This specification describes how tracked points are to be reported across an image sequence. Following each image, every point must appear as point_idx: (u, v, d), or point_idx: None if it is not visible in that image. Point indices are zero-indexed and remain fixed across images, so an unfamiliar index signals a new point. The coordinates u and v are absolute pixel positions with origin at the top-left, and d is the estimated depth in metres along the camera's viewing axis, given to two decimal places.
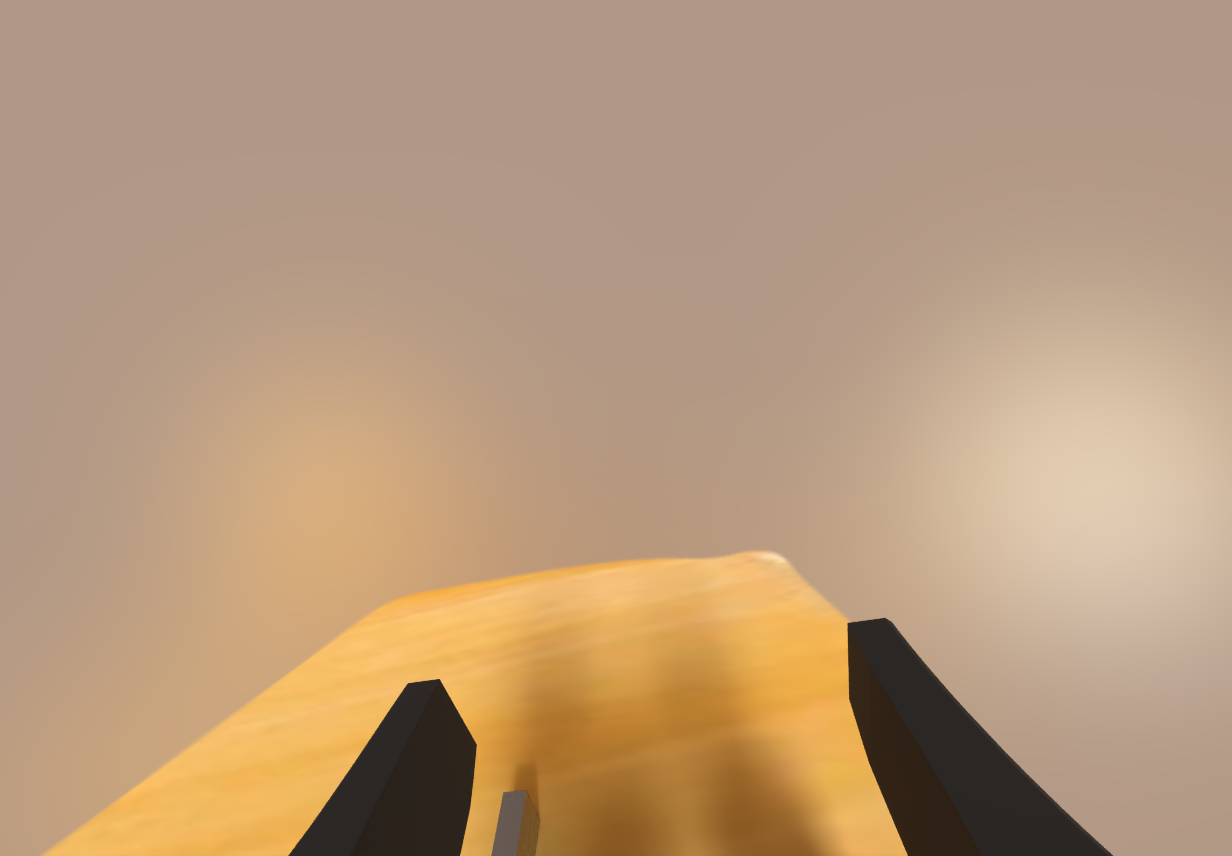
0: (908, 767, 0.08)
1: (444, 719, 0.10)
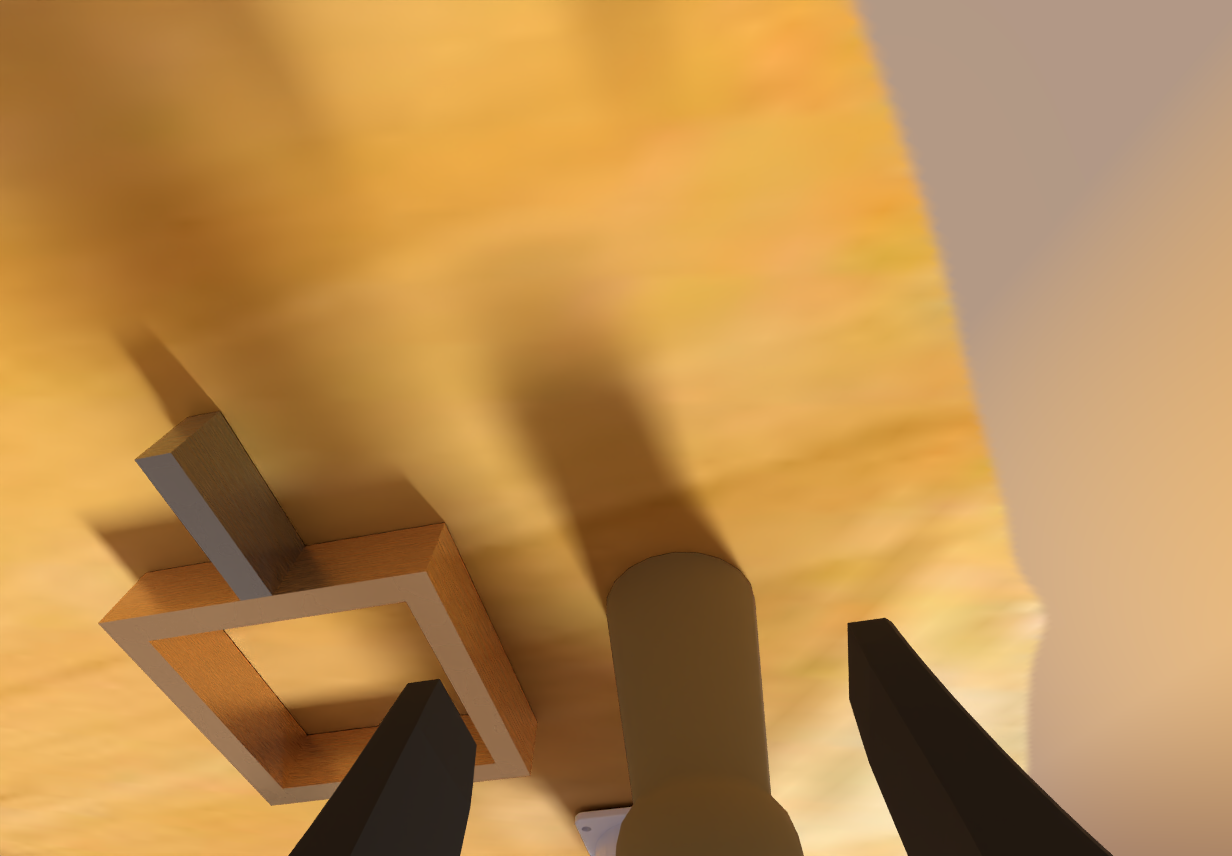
0: (908, 767, 0.08)
1: (444, 719, 0.10)
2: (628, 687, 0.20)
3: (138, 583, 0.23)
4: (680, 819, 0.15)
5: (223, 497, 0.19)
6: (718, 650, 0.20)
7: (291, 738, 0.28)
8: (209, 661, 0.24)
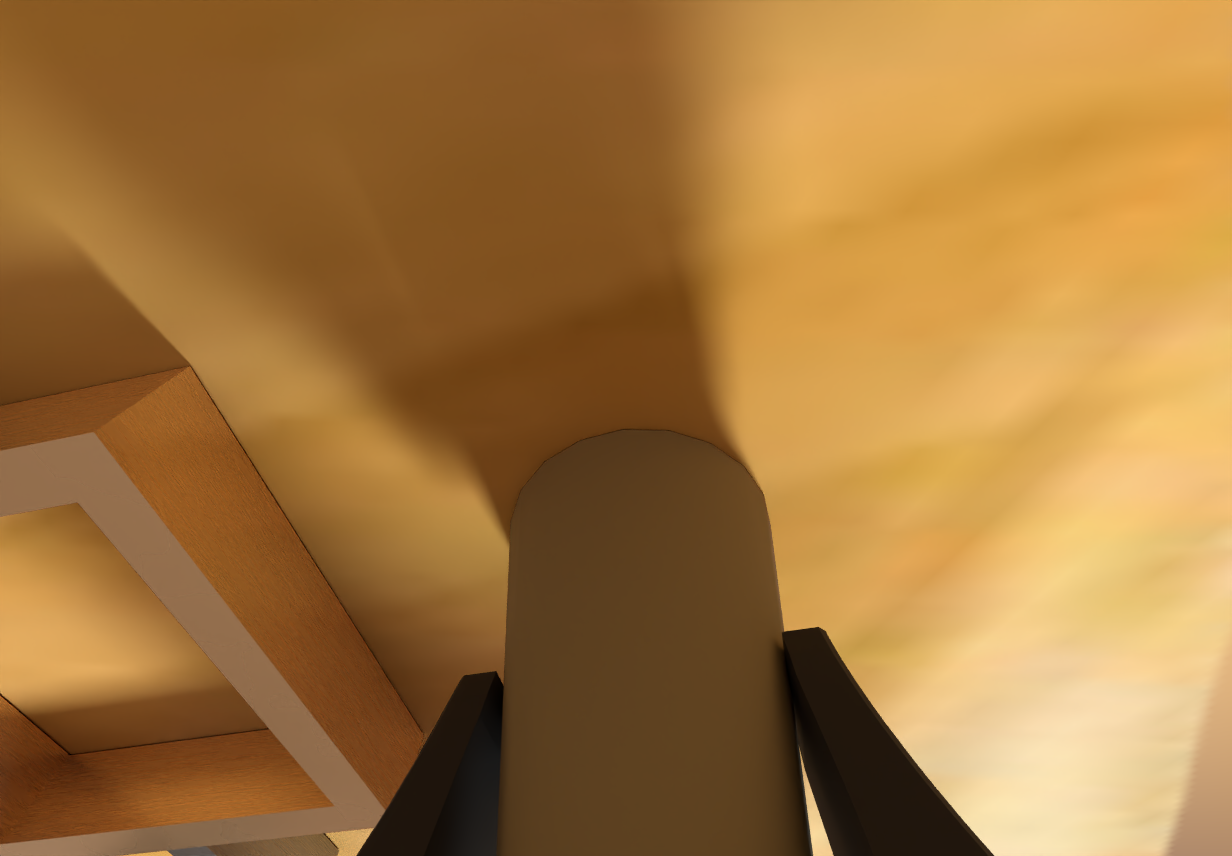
0: (828, 776, 0.08)
1: (502, 711, 0.10)
2: (513, 673, 0.10)
3: None
4: None
5: None
6: (700, 596, 0.09)
7: (30, 761, 0.18)
8: None
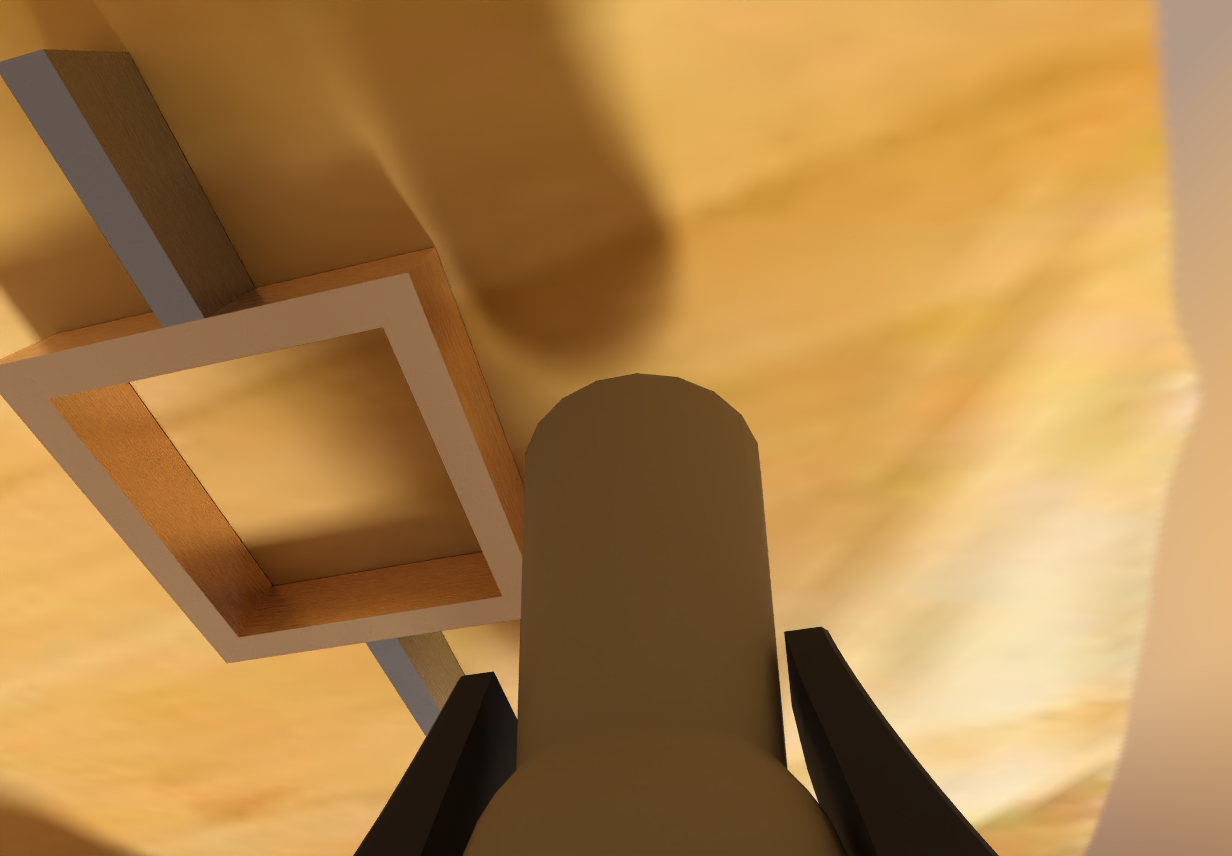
0: (831, 775, 0.08)
1: (499, 711, 0.10)
2: (534, 571, 0.11)
3: (42, 341, 0.18)
4: (593, 826, 0.06)
5: (130, 157, 0.14)
6: (702, 513, 0.11)
7: (251, 583, 0.23)
8: (138, 455, 0.19)
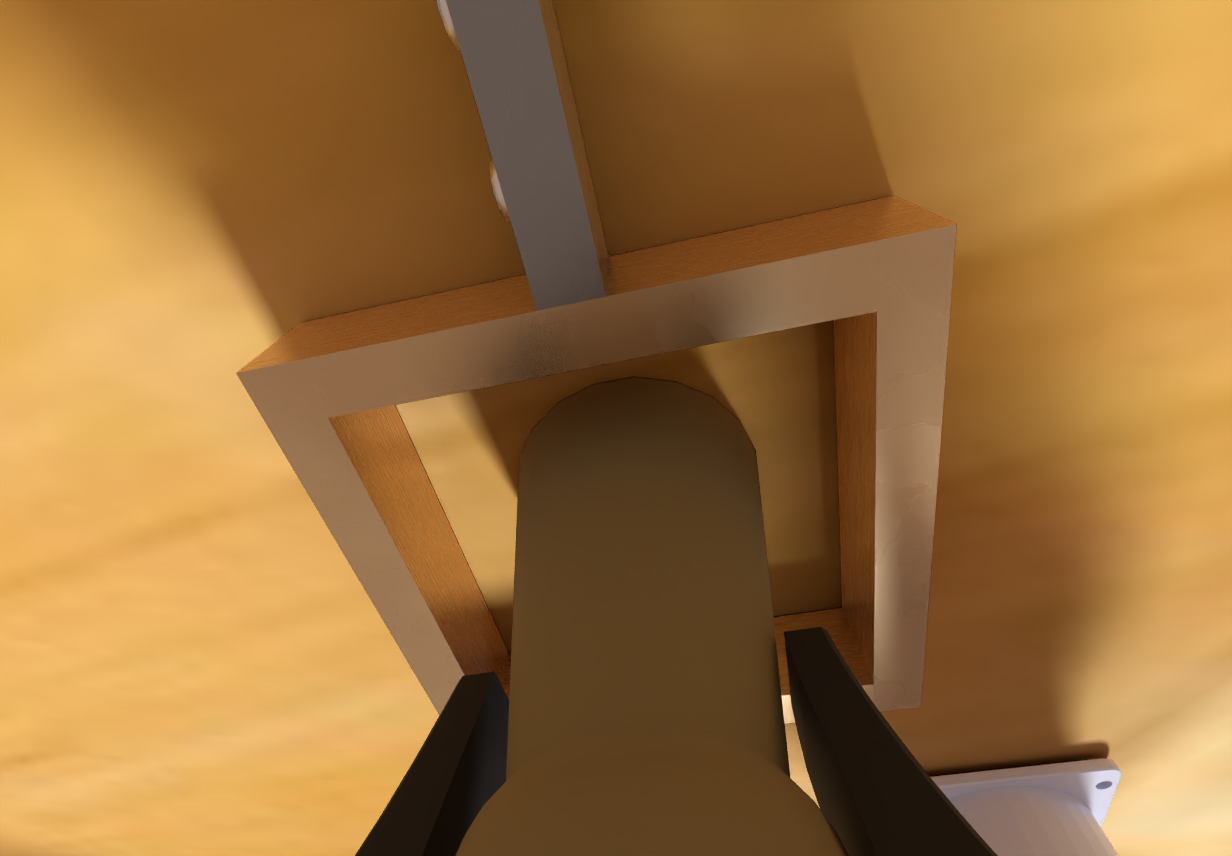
0: (830, 776, 0.08)
1: (500, 712, 0.10)
2: (526, 576, 0.11)
3: (293, 331, 0.12)
4: (588, 837, 0.06)
5: (549, 30, 0.09)
6: (700, 516, 0.10)
7: (495, 654, 0.17)
8: (404, 493, 0.14)
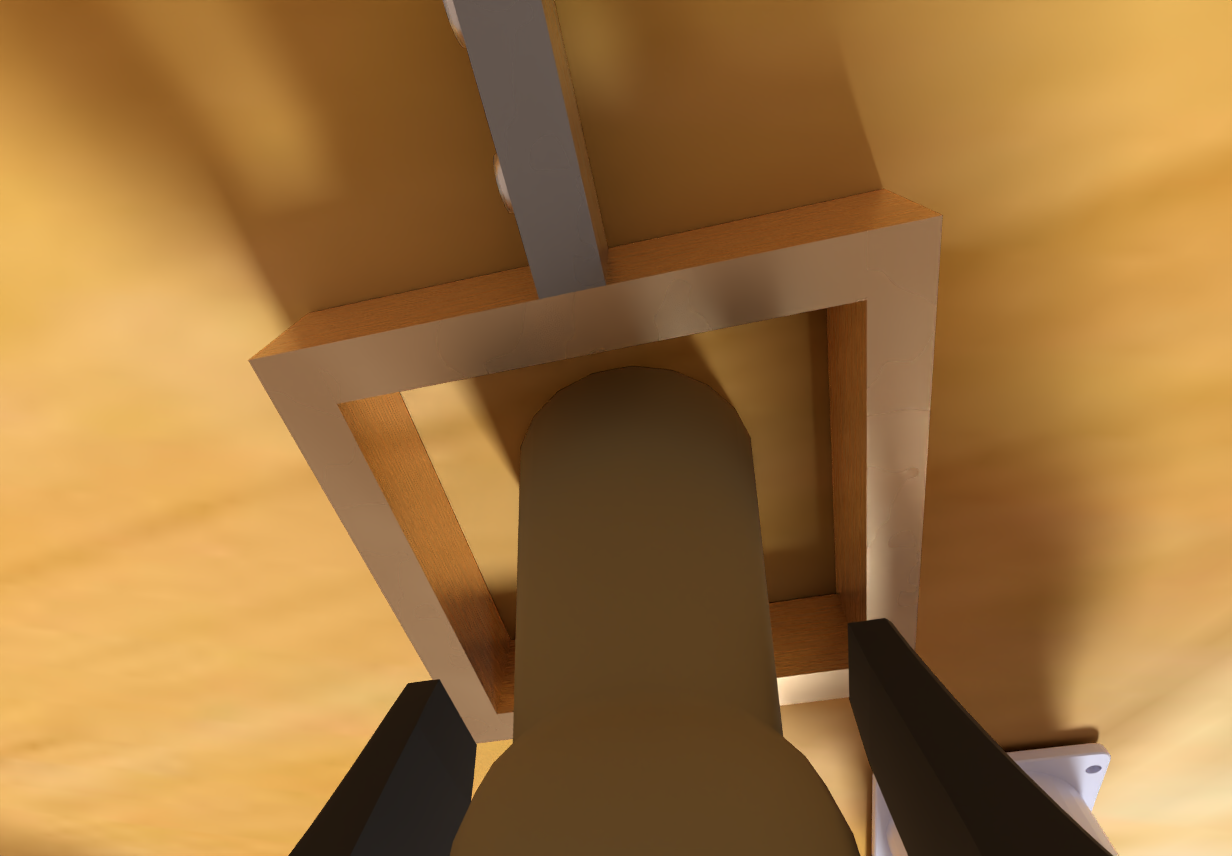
0: (908, 767, 0.08)
1: (445, 719, 0.10)
2: (530, 554, 0.11)
3: (301, 321, 0.13)
4: (594, 784, 0.06)
5: (551, 28, 0.09)
6: (697, 496, 0.11)
7: (497, 639, 0.18)
8: (409, 479, 0.14)
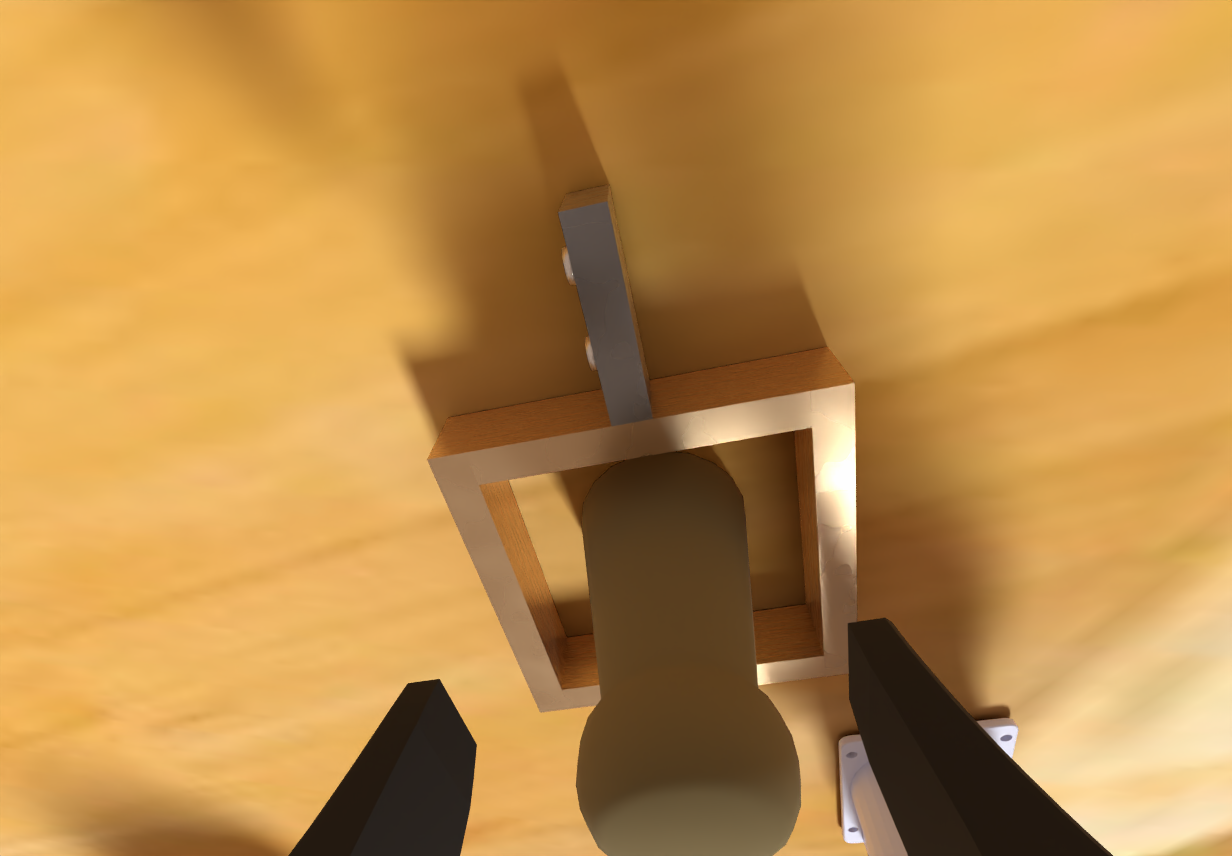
0: (908, 767, 0.08)
1: (444, 719, 0.10)
2: (604, 582, 0.18)
3: (447, 426, 0.19)
4: (660, 703, 0.13)
5: (626, 282, 0.16)
6: (708, 546, 0.17)
7: (559, 636, 0.24)
8: (511, 527, 0.21)
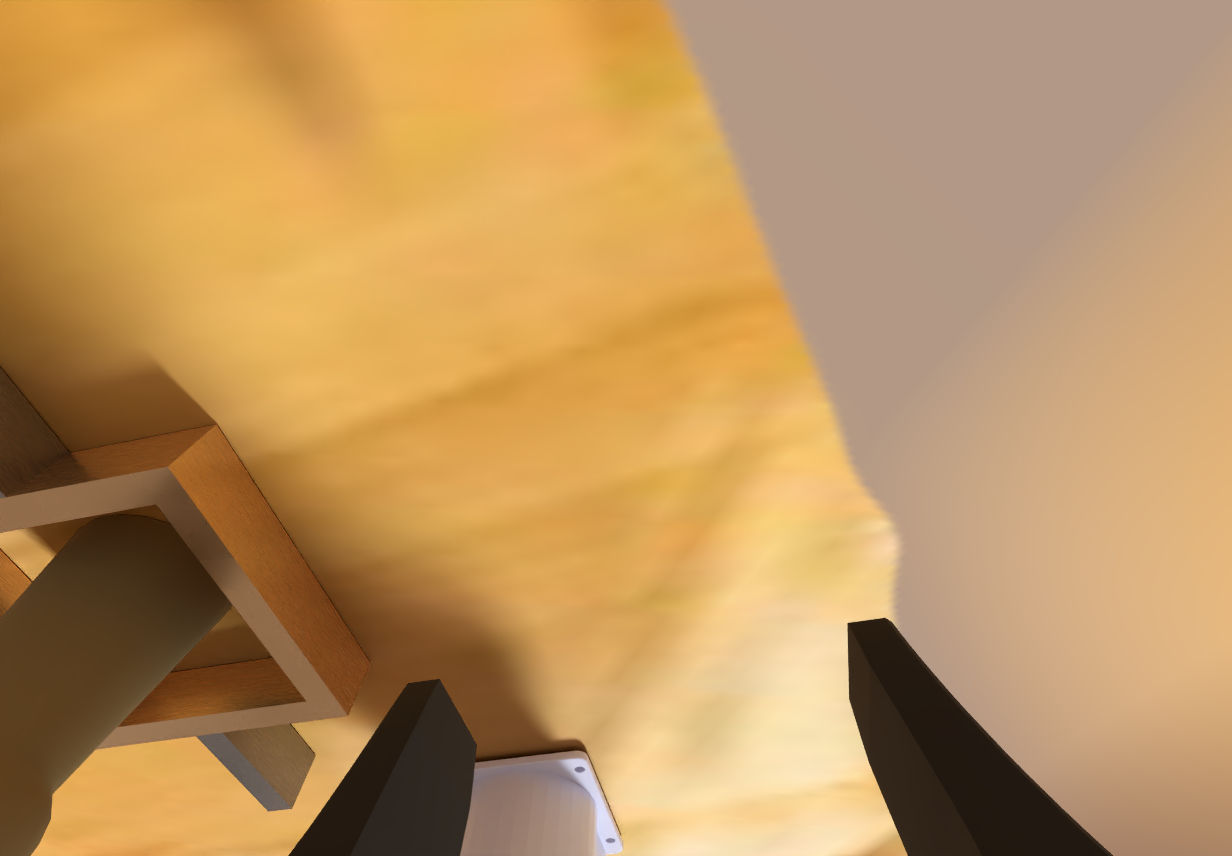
0: (908, 767, 0.08)
1: (444, 719, 0.10)
2: None
3: None
4: None
5: None
6: (74, 612, 0.19)
7: None
8: None
